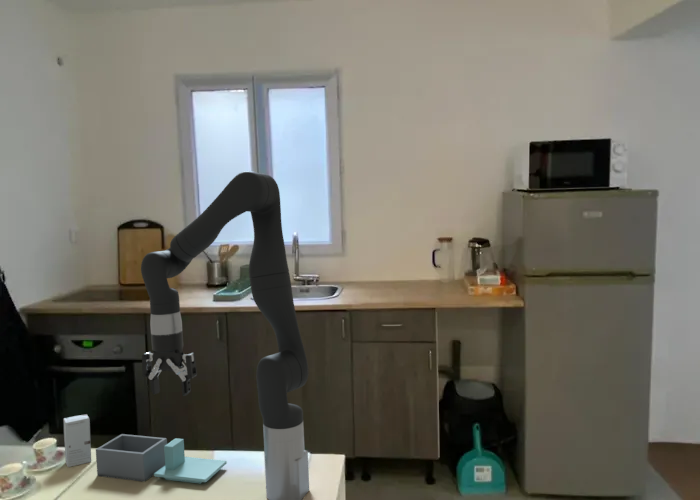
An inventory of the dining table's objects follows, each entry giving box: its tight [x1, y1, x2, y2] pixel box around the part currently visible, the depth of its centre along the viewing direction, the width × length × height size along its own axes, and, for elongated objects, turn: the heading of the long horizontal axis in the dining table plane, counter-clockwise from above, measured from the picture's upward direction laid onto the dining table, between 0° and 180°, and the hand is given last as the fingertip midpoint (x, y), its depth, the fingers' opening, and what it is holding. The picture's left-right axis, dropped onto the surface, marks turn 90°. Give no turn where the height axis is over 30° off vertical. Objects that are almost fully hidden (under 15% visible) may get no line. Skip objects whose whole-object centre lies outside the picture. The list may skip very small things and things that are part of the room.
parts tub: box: [95, 433, 168, 483], centre depth 150 cm, size 14×10×7 cm
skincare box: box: [62, 413, 92, 468], centre depth 156 cm, size 6×4×12 cm
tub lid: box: [153, 437, 228, 485], centre depth 146 cm, size 14×10×8 cm
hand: (170, 394), depth 146 cm, fingers open, 8 cm apart
